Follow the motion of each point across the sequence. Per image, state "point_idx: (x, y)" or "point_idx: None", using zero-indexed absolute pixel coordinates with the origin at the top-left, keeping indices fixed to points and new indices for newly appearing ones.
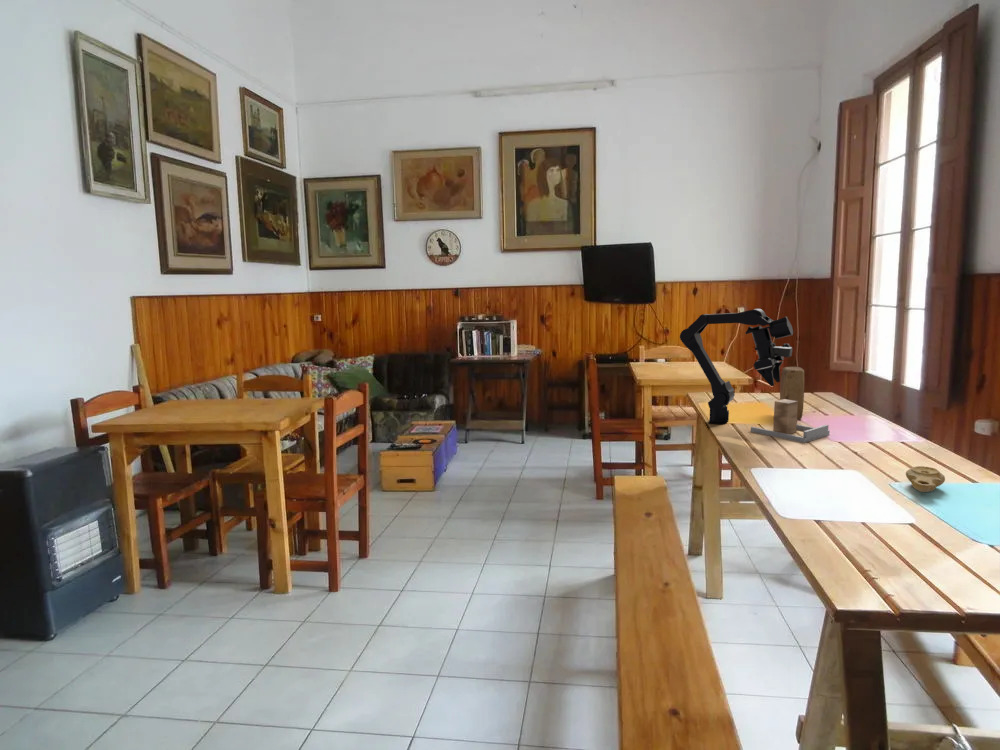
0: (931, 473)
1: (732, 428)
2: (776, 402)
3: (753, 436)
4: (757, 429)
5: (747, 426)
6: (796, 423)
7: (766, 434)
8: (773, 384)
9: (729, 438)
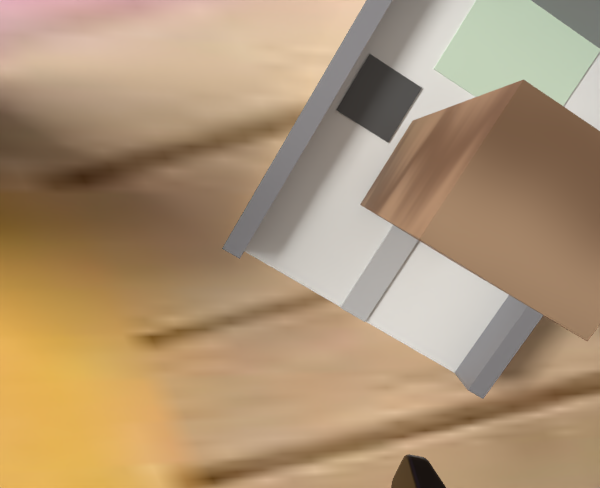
0: None
1: (316, 470)
2: (595, 318)
3: None
4: (508, 358)
5: (235, 397)
6: (431, 114)
7: None
8: (434, 475)
9: (555, 469)
